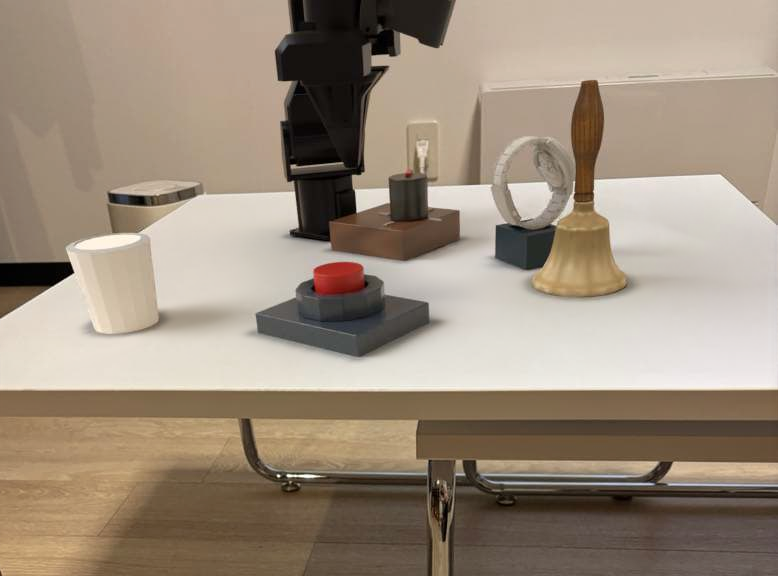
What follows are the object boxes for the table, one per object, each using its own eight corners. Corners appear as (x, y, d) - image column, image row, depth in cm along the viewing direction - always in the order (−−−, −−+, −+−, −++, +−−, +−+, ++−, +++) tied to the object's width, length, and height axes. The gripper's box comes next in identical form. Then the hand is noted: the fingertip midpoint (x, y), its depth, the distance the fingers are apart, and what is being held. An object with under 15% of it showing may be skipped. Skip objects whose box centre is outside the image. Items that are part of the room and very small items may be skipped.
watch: (580, 258, 80) (589, 134, 74) (510, 273, 78) (513, 145, 72) (547, 247, 85) (552, 128, 79) (479, 260, 82) (480, 139, 76)
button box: (257, 333, 68) (251, 290, 66) (330, 303, 74) (326, 263, 72) (358, 357, 62) (355, 311, 60) (429, 322, 67) (428, 279, 65)
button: (304, 293, 66) (302, 271, 65) (338, 280, 68) (336, 259, 67) (342, 301, 64) (340, 278, 63) (375, 287, 66) (373, 265, 65)
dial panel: (331, 250, 89) (328, 220, 88) (388, 230, 96) (387, 201, 94) (412, 262, 83) (411, 230, 81) (468, 240, 89) (468, 209, 88)
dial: (426, 220, 85) (425, 175, 82) (388, 222, 85) (385, 177, 83) (430, 212, 88) (429, 168, 86) (393, 213, 89) (390, 170, 86)
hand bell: (571, 304, 69) (586, 88, 60) (513, 282, 75) (518, 83, 67) (647, 285, 72) (671, 76, 63) (585, 265, 78) (599, 73, 70)
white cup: (125, 340, 68) (104, 254, 65) (70, 330, 72) (47, 248, 68) (182, 315, 73) (166, 234, 69) (127, 307, 76) (109, 228, 73)
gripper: (432, -80, 51) (436, 189, 60) (458, -70, 66) (459, 144, 75) (259, -65, 53) (288, 193, 62) (323, -59, 68) (339, 148, 77)
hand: (352, 167), depth 68 cm, fingers closed
